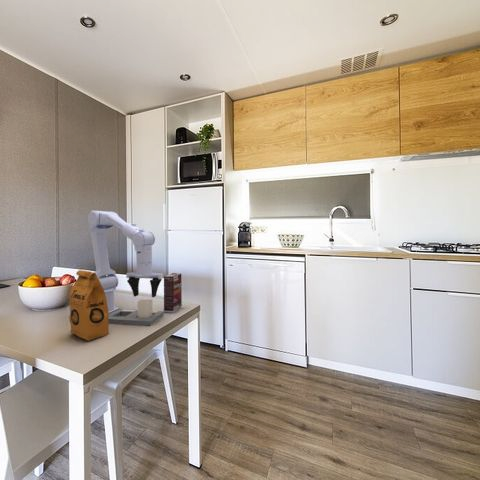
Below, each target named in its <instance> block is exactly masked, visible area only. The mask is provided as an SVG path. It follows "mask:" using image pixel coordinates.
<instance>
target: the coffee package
mask: <svg viewBox="0 0 480 480" xmlns="http://www.w3.org/2000/svg"><path fill="white" fill-rule="evenodd" d="M75 275H76V276H78V277H77V279H76V281H75V282H74V284H73V286H72V287H71V289H70V292H69V313H70V314H69V316H68V319H69V324H70V332H71V334H73V335H75V336H77V337H78V338H81V339H83V340H86V341H88V342H90V341H92V340H94V339H95V340H96V339H99V338H100V337H102V338H103V337H106V336H107V335H109V333H110V330H109V327H110V326H109V325H110V324H109V323H108V318H109V314H110V313H109V311H108V306H107V300H106V294H105V292H104V289H103V287H102V285H101V283H100V281H99V279H98V277H97V275H96V273H94V272H93V271H90V270H83V269H82V270H81V269H79V270H78V271H76V274H75Z"/></svg>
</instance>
